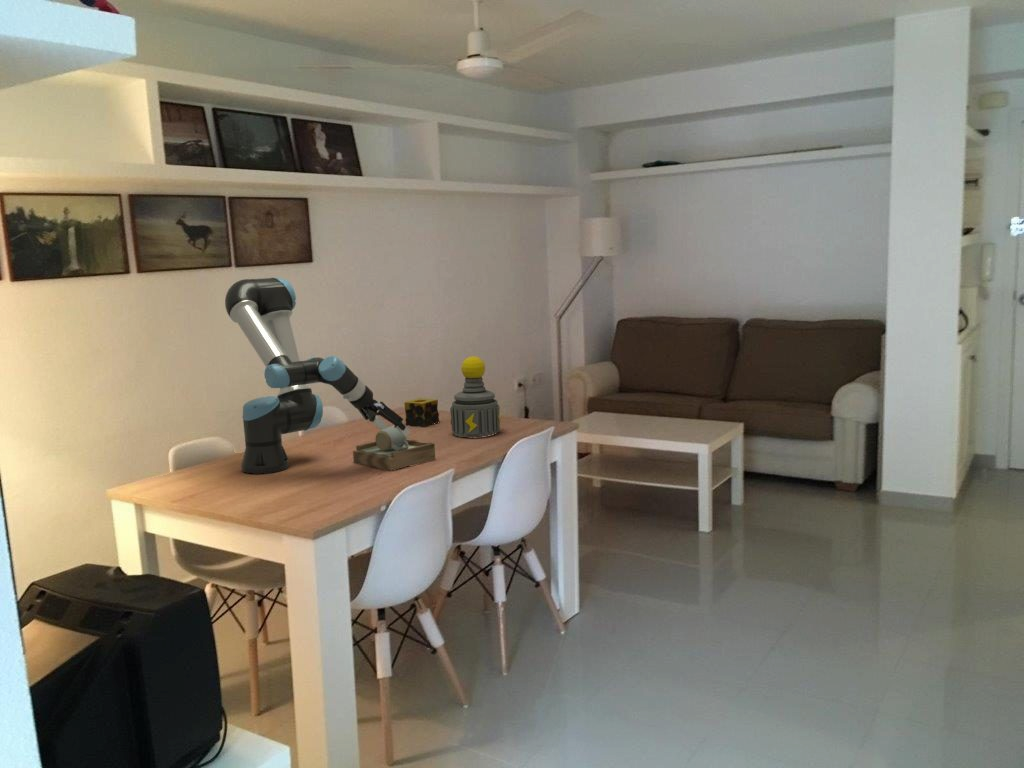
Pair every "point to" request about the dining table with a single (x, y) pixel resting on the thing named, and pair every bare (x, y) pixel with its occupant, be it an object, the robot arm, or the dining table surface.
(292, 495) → the dining table surface
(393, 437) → the ceramic mug
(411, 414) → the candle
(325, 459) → the dining table surface
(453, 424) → the decorative lamp
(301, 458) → the dining table surface
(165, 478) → the dining table surface
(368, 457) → the walnut tray
